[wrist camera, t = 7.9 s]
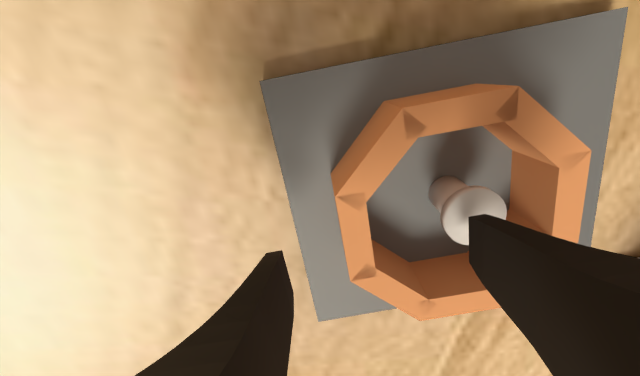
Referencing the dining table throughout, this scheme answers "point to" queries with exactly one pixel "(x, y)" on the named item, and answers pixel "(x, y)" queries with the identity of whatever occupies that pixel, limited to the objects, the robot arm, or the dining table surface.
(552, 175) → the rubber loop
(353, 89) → the hook board
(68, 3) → the dining table surface
